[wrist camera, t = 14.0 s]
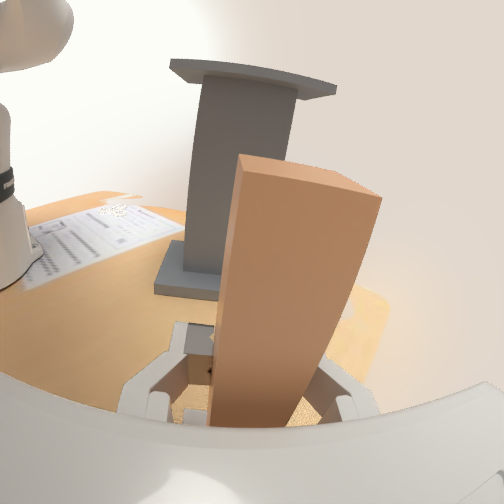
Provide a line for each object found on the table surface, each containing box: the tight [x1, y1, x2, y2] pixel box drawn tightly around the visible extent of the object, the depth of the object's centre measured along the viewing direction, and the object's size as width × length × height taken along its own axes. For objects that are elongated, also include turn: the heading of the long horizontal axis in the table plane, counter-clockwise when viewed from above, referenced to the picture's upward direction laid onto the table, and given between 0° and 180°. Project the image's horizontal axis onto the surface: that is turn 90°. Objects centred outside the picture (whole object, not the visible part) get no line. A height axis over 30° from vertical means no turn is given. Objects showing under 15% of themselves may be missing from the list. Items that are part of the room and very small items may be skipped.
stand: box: [154, 59, 337, 301], centre depth 32 cm, size 12×16×26 cm
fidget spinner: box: [98, 204, 127, 217], centre depth 53 cm, size 7×6×1 cm
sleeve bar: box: [183, 154, 382, 428], centre depth 10 cm, size 20×5×4 cm
